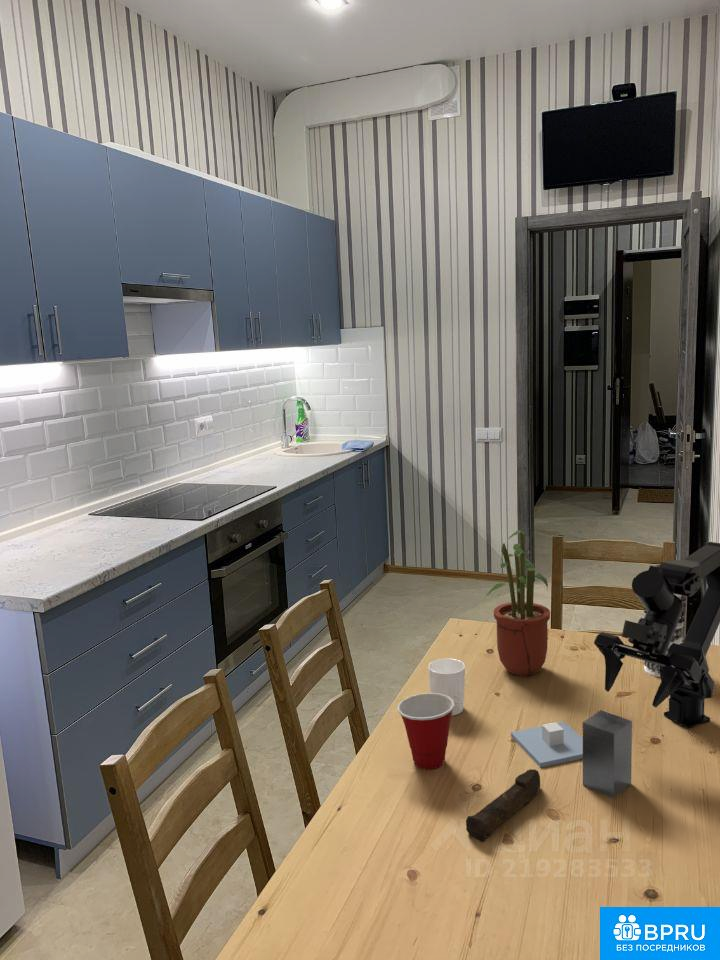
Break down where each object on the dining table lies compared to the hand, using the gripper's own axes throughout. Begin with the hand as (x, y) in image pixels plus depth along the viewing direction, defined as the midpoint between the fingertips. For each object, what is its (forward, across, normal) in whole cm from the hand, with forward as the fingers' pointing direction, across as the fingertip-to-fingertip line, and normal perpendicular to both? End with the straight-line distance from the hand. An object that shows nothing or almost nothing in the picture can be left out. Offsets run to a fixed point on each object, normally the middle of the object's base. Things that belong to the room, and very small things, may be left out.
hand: (629, 698), depth 137 cm
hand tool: (+28, -8, -9) cm, 31 cm away
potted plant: (-5, -41, +25) cm, 48 cm away
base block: (+12, -14, +7) cm, 20 cm away
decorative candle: (-20, -14, +39) cm, 46 cm away
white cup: (+14, -39, +5) cm, 42 cm away
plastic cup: (+26, -28, -8) cm, 39 cm away
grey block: (+15, 0, +4) cm, 16 cm away
